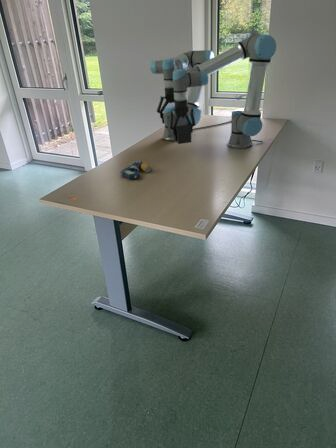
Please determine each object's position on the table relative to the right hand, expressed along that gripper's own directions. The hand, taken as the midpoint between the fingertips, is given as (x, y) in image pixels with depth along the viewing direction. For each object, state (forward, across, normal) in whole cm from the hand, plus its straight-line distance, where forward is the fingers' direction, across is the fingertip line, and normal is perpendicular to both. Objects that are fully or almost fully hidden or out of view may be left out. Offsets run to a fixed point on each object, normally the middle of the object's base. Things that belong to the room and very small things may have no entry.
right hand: (183, 139), depth 201 cm
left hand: (-5, 0, +24) cm, 24 cm away
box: (+1, 0, +10) cm, 10 cm away
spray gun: (+13, -31, -8) cm, 35 cm away
